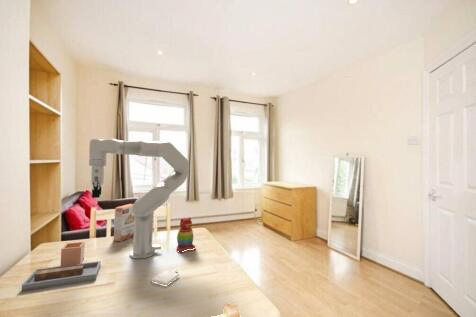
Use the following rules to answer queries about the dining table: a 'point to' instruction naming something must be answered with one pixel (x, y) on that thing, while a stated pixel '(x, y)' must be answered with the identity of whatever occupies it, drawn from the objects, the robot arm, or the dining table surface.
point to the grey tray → (88, 275)
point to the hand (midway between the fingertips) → (96, 196)
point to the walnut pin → (58, 273)
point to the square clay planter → (72, 253)
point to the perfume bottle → (165, 277)
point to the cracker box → (124, 222)
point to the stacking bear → (185, 235)
